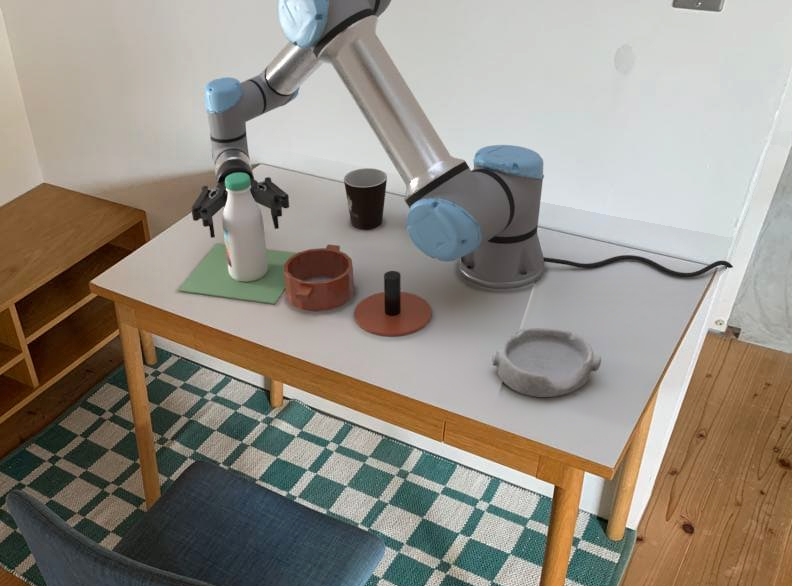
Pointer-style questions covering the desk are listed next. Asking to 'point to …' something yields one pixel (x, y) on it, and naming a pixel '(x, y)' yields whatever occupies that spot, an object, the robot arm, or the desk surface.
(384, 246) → the desk surface
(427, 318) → the lid
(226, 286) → the mat
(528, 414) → the desk surface
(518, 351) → the dish
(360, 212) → the brown coffee cup
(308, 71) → the robot arm
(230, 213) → the milk bottle
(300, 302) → the pot
